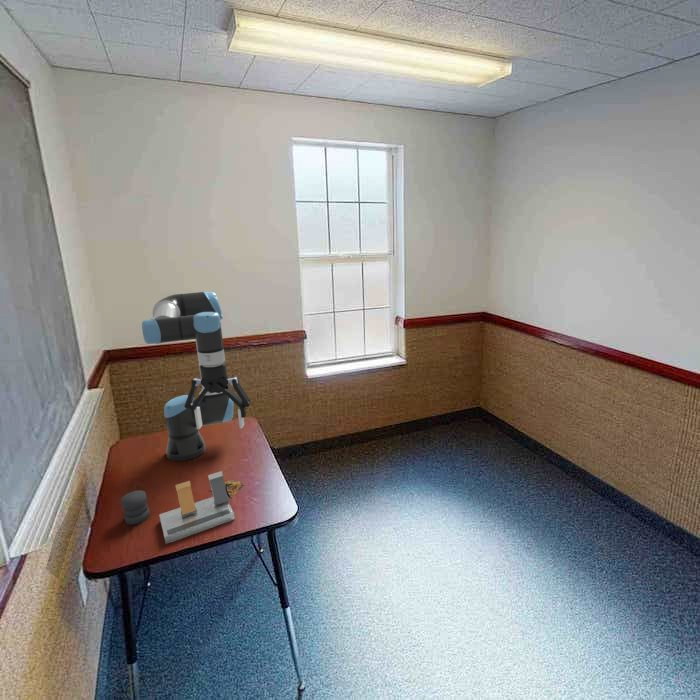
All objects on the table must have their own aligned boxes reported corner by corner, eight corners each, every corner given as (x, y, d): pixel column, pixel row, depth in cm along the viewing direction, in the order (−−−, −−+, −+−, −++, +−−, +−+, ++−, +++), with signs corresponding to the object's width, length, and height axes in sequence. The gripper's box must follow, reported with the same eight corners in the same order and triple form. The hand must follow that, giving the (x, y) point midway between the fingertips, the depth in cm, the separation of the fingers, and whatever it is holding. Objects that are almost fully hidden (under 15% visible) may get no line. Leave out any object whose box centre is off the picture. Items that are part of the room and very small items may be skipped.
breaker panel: (160, 521, 131) (159, 513, 130) (224, 499, 140) (223, 492, 140) (165, 544, 121) (164, 536, 120) (234, 519, 130) (233, 511, 130)
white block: (214, 505, 134) (207, 475, 136) (228, 501, 136) (221, 471, 138) (215, 505, 132) (208, 475, 134) (229, 500, 134) (222, 470, 136)
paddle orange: (181, 517, 129) (175, 485, 131) (196, 512, 131) (189, 481, 133) (182, 516, 127) (175, 485, 130) (197, 511, 129) (190, 480, 132)
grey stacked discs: (124, 515, 134) (120, 495, 132) (148, 508, 137) (144, 488, 135) (126, 528, 128) (121, 506, 126) (150, 519, 132) (146, 499, 130)
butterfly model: (234, 500, 141) (233, 492, 140) (207, 491, 146) (206, 483, 145) (251, 486, 148) (250, 479, 147) (224, 478, 154) (223, 471, 153)
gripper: (166, 368, 124) (177, 433, 130) (250, 366, 123) (257, 431, 129) (177, 360, 131) (186, 422, 137) (256, 358, 130) (262, 420, 136)
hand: (220, 426), depth 133 cm, fingers open, 13 cm apart
